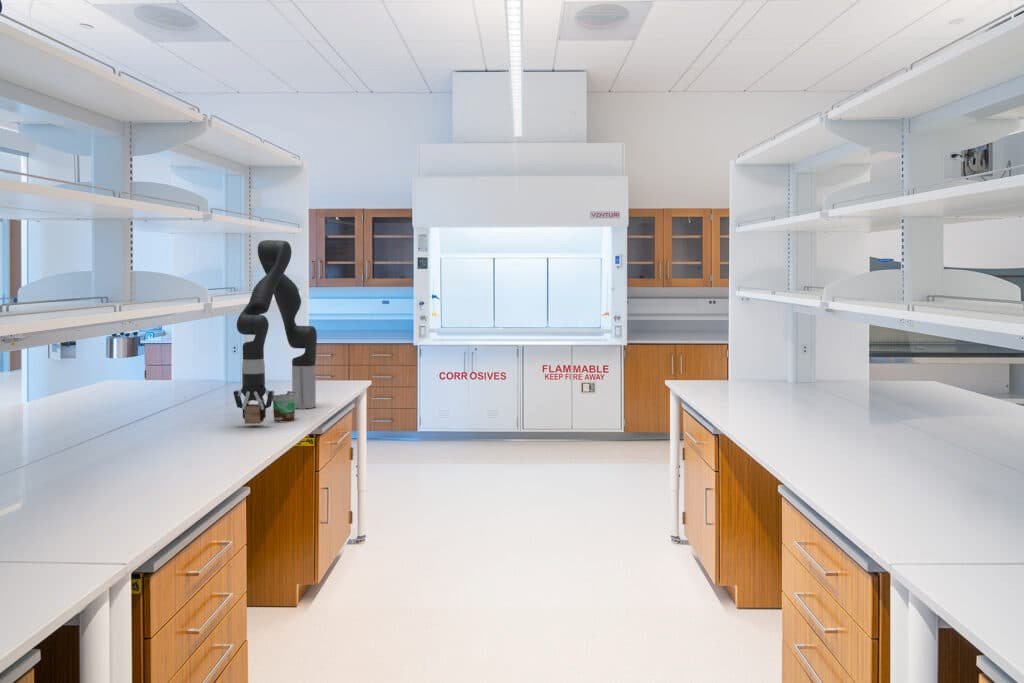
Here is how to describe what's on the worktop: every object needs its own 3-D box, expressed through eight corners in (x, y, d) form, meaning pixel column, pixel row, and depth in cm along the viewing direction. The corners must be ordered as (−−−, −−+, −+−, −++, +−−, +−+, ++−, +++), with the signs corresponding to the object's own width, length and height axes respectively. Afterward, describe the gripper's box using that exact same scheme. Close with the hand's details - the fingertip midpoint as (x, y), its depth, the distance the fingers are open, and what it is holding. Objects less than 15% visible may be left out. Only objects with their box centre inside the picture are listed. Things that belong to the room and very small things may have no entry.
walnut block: (249, 420, 279) (249, 404, 279) (263, 421, 279) (263, 404, 279) (244, 423, 274) (244, 406, 274) (259, 423, 274) (258, 406, 274)
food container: (287, 423, 284) (287, 395, 283) (272, 422, 285) (271, 395, 284) (303, 417, 296) (303, 391, 295) (288, 417, 297) (288, 390, 297)
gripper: (277, 370, 279) (277, 418, 281) (236, 370, 279) (237, 417, 280) (270, 373, 272) (271, 422, 273) (229, 372, 272) (230, 421, 273)
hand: (254, 419), depth 277 cm, fingers closed on walnut block, 5 cm apart
